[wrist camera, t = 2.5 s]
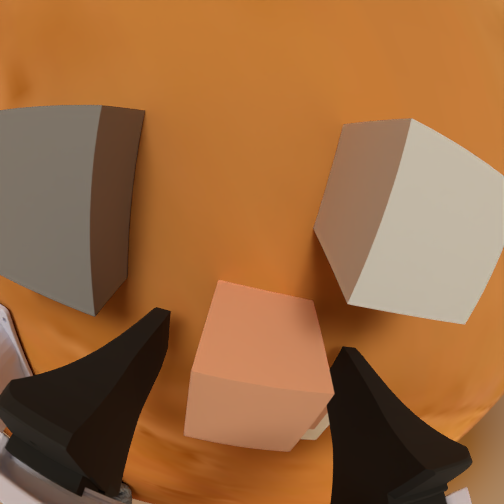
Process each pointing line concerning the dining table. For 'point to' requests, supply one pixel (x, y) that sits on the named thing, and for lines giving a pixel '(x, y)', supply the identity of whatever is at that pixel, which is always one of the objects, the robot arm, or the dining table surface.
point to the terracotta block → (257, 370)
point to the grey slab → (67, 200)
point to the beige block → (410, 220)
